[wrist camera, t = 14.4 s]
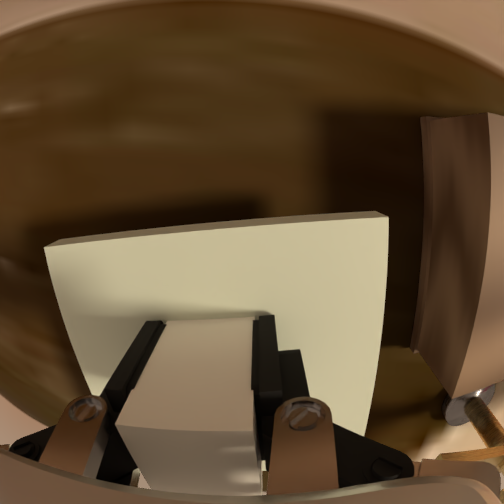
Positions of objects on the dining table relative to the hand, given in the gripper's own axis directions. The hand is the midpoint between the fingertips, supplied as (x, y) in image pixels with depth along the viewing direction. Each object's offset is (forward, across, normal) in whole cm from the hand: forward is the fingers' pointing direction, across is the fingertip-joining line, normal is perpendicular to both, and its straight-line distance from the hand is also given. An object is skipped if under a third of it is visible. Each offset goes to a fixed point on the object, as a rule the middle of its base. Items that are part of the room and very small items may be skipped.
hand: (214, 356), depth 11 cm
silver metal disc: (+5, -16, +10) cm, 19 cm away
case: (+5, -16, -2) cm, 17 cm away
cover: (+1, 0, +2) cm, 2 cm away
